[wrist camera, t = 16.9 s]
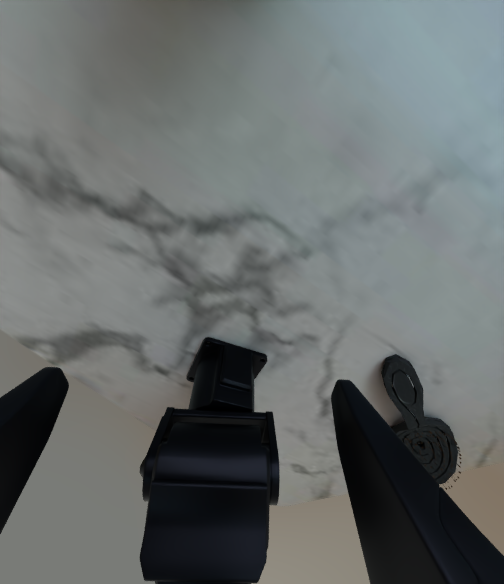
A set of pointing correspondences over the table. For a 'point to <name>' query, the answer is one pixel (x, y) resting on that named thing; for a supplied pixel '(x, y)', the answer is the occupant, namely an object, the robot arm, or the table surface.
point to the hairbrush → (419, 421)
